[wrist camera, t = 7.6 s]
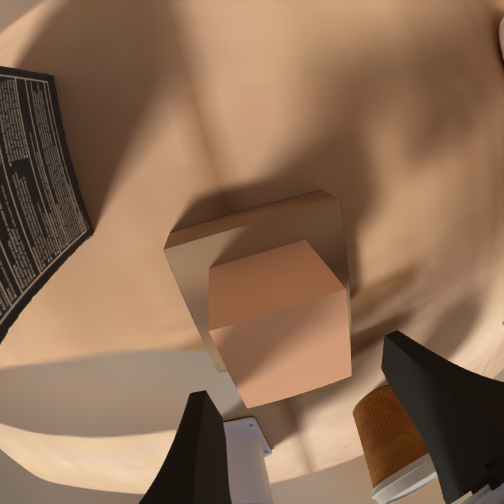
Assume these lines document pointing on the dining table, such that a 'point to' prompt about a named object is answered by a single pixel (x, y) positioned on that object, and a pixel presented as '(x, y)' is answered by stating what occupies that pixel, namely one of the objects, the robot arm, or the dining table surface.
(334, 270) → the walnut block
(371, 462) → the disposable coffee cup
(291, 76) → the dining table surface
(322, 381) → the terracotta cube
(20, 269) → the small box
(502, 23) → the flower in vase
